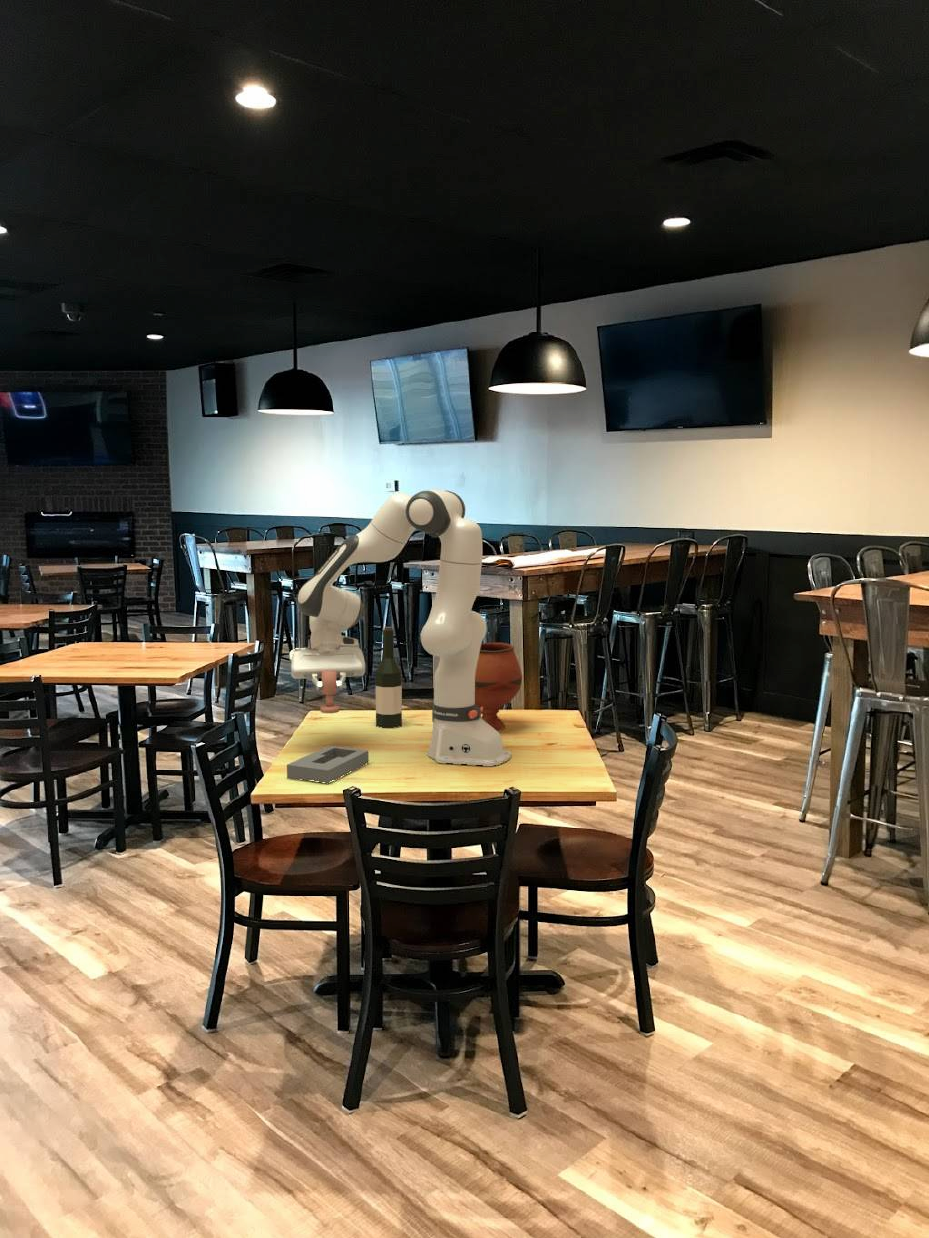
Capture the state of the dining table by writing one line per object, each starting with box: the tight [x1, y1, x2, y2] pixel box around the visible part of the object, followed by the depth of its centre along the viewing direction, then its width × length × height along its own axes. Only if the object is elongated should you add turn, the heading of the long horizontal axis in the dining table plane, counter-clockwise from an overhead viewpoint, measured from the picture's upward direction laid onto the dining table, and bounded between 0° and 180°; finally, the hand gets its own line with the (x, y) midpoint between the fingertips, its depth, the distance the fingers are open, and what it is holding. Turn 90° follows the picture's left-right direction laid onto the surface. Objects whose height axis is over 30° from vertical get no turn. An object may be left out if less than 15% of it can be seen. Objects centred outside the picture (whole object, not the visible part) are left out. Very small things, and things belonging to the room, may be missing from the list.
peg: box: [320, 670, 340, 714], centre depth 273 cm, size 5×5×11 cm
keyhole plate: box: [286, 745, 370, 783], centre depth 258 cm, size 20×12×4 cm, turn 156°
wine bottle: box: [374, 626, 403, 729], centre depth 304 cm, size 8×8×30 cm
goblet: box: [475, 642, 523, 731], centre depth 302 cm, size 19×19×25 cm
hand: (329, 688), depth 272 cm, fingers closed on peg, 4 cm apart
